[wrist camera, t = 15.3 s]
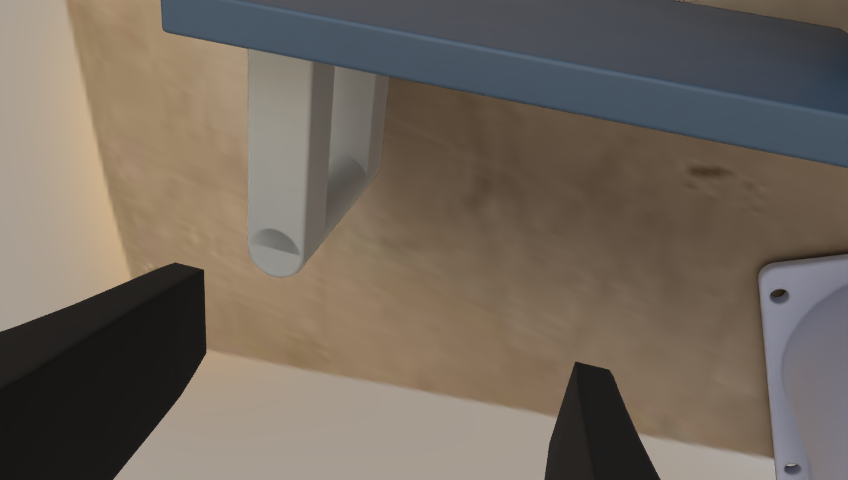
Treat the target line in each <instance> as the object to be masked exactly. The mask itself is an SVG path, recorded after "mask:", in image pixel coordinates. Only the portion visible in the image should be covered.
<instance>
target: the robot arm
mask: <svg viewBox="0 0 848 480" xmlns="http://www.w3.org/2000/svg"><path fill="white" fill-rule="evenodd" d="M758 283H759V295H760V306H761V317H762V328H763V339H764V350H765V361H766V372H767V383H768V394H769V405H770V417H771V428H772V439H773V450H774V461H775V471H776V480H848V254H843V255H835V256H826V257H817V258H809V259H800V260H791V261H783V262H775V263H771V264H768V265H766V266H765V267H763V268H762V269H761V271H760V272H759V276H758ZM777 289H784V290H786V292H785V293H784V294H783V295H782V296H779V297H772V296H771V295H770V294H771V293H772V292H773V291H774V290H777ZM205 354H206V324H205V290H204V270H203V269H199V268H195V267H191V266H187V265H183V264H179V263H172V264H170V265H167V266H164V267H161V268H159V269H156V270H154V271H151V272H149V273H147V274H144V275H142V276H140V277H137V278H135V279H133V280H130V281H128V282H126V283H123V284H121V285H119V286H116V287H114V288H112V289H109V290H107V291H105V292H102V293H100V294H97V295H95V296H93V297H90V298H88V299H86V300H83V301H81V302H79V303H76V304H74V305H71V306H69V307H66V308H63V309H61V310H58V311H56V312H53V313H50V314H48V315H45V316H43V317H40V318H37V319H35V320H32V321H29V322H27V323H24V324H22V325H19V326H16V327H13V328H10V329H7V330H5V331H1V332H0V480H113V479H114V478H115V476H116V475H117V474H118V473H119V472H120V470H121V469H122V468H123V466H124V465H125V464H126V463H127V462H128V460H129V459H130V458H131V457H132V456H133V454H134V453H135V452H136V451H137V449H138V448H139V447H140V446H141V444H142V443H143V442H144V441H145V440H146V438H147V437H148V436H149V435H150V433H151V432H152V431H153V430H154V428H155V427H156V426H157V425H158V424H159V422H160V421H161V420H162V418H163V417H164V416H165V415H166V414H167V412H168V411H169V410H170V409H171V407H172V406H173V405H174V403H175V402H176V401H177V400H178V398H179V397H180V396H181V394H182V393H183V391H184V389H185V388H186V386H187V384H188V383H189V381H190V380H191V378H192V377H193V375H194V373H195V372H196V370H197V368H198V366H199V365H200V363H201V361H202V359H203V358H204V356H205ZM791 463H794V464H796V465H795V466H786V465H787V464H791ZM545 480H660V478H659V476H658V474H657V472H656V470H655V468H654V466H653V464H652V462H651V461H650V458H649V456H648V454H647V452H646V450H645V448H644V446H643V444H642V442H641V440H640V438H639V436H638V434H637V432H636V430H635V427H634V425H633V423H632V421H631V418H630V416H629V414H628V412H627V409H626V407H625V404H624V402H623V400H622V397H621V395H620V392H619V390H618V387H617V384H616V382H615V379H614V376H613V375H612V373H611V372H610V370H608V369H604V368H600V367H595V366H591V365H587V364H583V363H579V362H575V364H574V367H573V370H572V373H571V377H570V380H569V383H568V386H567V389H566V393H565V396H564V399H563V402H562V405H561V408H560V412H559V415H558V418H557V421H556V424H555V428H554V431H553V434H552V437H551V440H550V443H549V451H548V458H547V466H546V472H545Z"/></svg>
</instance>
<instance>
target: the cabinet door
mask: <svg viewBox="0 0 848 480" xmlns="http://www.w3.org/2000/svg"><path fill="white" fill-rule="evenodd" d="M161 12H162V28H163V31H165V32H167V33H171V34H176V35H181V36H186V37H191V38H196V39H201V40H207V41H212V42H217V43H222V44H227V45H232V46H237V47H242V48H247V49H248V251H249V254H250V257H251V259H252V261H253V262H254V263H255V265H256V266H257V267H258V268H259V269H260V270H262V271H263V272H265V273H266V274H268V275H271V276H274V277H280V278H283V277H289V276H292V275H294V274H296V273H297V272H299V271H300V269H301V268H302V267H303V266H304V264H305V263H306V262H307V261H308V260H309V258H310V257H311V256H312V255H313V253H314V252H315V251H316V250H317V248H318V247H319V246H320V245H321V243H322V242H323V241H324V240H325V239H326V237H327V236H328V235H329V234H330V232H331V231H332V230H333V229H334V227H335V226H336V225H337V224H338V222H339V221H340V220H341V219H342V218H343V216H344V215H345V214H346V213H347V211H348V210H349V209H350V208H351V206H352V205H353V204H354V203H355V201H356V200H357V199H358V198H359V197H360V195H361V194H362V193H363V192H364V190H365V189H366V188H367V187H368V185H369V184H370V183H371V182H372V180H373V179H374V178H375V177H376V175H377V174H378V172H379V168H380V161H381V152H382V142H383V132H384V123H385V113H386V104H387V94H388V85H389V77H393V78H398V79H403V80H408V81H413V82H418V83H423V84H428V85H433V86H438V87H443V88H448V89H453V90H458V91H463V92H468V93H473V94H478V95H483V96H488V97H493V98H498V99H503V100H508V101H513V102H518V103H523V104H528V105H533V106H538V107H543V108H548V109H553V110H558V111H563V112H569V113H574V114H579V115H584V116H589V117H594V118H599V119H604V120H609V121H614V122H619V123H624V124H629V125H634V126H639V127H644V128H649V129H654V130H659V131H664V132H669V133H674V134H679V135H684V136H689V137H694V138H699V139H704V140H709V141H714V142H719V143H724V144H729V145H734V146H739V147H744V148H750V149H755V150H760V151H765V152H770V153H775V154H780V155H785V156H790V157H795V158H800V159H805V160H810V161H815V162H820V163H825V164H830V165H835V166H840V167H845V168H848V34H847V33H846V32H844V31H843V30H841V29H837V28H831V27H825V26H820V25H814V24H808V23H802V22H796V21H790V20H784V19H779V18H773V17H767V16H761V15H755V14H749V13H743V12H737V11H732V10H726V9H720V8H714V7H708V6H702V5H696V4H691V3H685V2H679V1H673V0H161Z"/></svg>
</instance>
